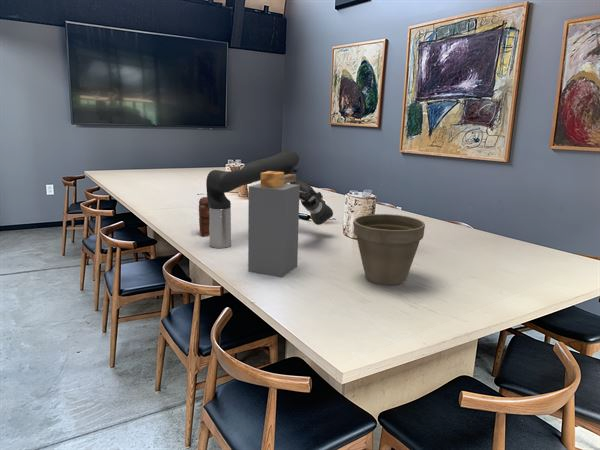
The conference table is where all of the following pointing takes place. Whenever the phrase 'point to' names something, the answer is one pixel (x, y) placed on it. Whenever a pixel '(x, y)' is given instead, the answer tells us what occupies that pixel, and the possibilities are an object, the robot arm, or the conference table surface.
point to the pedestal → (273, 229)
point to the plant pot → (387, 246)
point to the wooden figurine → (204, 216)
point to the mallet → (276, 179)
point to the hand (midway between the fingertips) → (300, 189)
